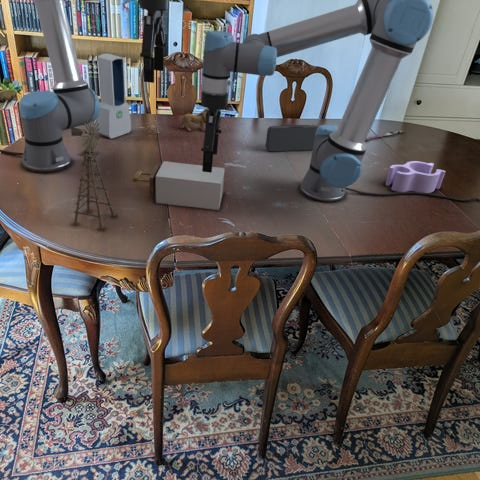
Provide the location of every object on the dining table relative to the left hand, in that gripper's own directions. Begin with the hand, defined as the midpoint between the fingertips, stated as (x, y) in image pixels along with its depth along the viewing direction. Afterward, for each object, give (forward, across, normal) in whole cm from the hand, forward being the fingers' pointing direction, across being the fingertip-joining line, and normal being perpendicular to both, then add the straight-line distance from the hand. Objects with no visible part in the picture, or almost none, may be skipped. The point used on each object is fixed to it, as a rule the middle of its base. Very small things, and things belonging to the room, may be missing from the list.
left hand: (154, 76), depth 133 cm
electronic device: (+36, +43, +25) cm, 61 cm away
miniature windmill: (+36, -24, +12) cm, 45 cm away
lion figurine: (+36, +58, -6) cm, 68 cm away
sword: (+35, +73, -90) cm, 121 cm away
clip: (+35, +22, -90) cm, 100 cm away
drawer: (+34, -5, -7) cm, 35 cm away
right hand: (+22, -5, -18) cm, 29 cm away
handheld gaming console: (+35, +46, -47) cm, 74 cm away
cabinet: (+35, -5, -12) cm, 38 cm away
